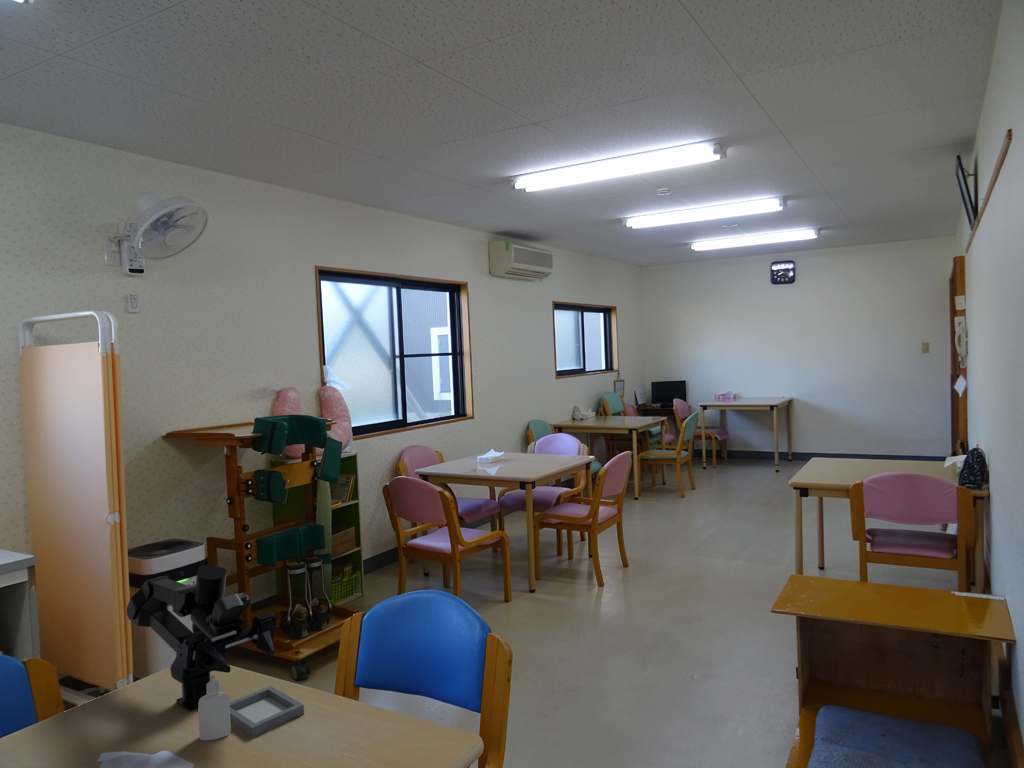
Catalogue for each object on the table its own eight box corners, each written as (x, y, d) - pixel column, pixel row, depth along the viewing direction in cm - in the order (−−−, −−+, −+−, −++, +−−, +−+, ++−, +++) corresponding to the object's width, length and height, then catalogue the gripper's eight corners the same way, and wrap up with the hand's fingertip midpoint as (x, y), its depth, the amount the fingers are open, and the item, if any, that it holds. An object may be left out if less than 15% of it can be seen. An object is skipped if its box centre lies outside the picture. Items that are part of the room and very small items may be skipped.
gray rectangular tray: (220, 715, 144) (220, 706, 144) (270, 694, 153) (270, 685, 153) (252, 737, 135) (252, 727, 135) (304, 714, 144) (303, 704, 144)
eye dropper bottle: (209, 728, 139) (206, 670, 139) (234, 730, 138) (231, 671, 138) (195, 740, 135) (192, 680, 134) (222, 742, 134) (219, 682, 133)
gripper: (171, 600, 135) (208, 641, 125) (259, 575, 149) (299, 610, 140) (167, 650, 137) (203, 693, 128) (254, 621, 152) (292, 658, 142)
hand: (252, 661), depth 134 cm, fingers open, 9 cm apart
